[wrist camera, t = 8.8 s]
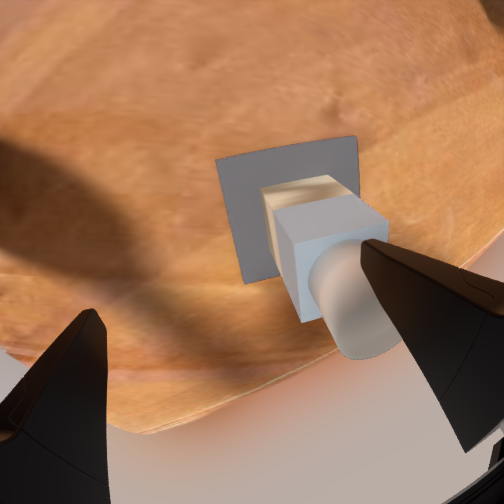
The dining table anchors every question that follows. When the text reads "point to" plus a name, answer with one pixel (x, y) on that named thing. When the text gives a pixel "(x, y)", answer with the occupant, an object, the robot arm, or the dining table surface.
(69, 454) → the robot arm
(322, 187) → the bottom block
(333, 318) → the white cylinder
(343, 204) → the top block
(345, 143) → the mat
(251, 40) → the dining table surface
